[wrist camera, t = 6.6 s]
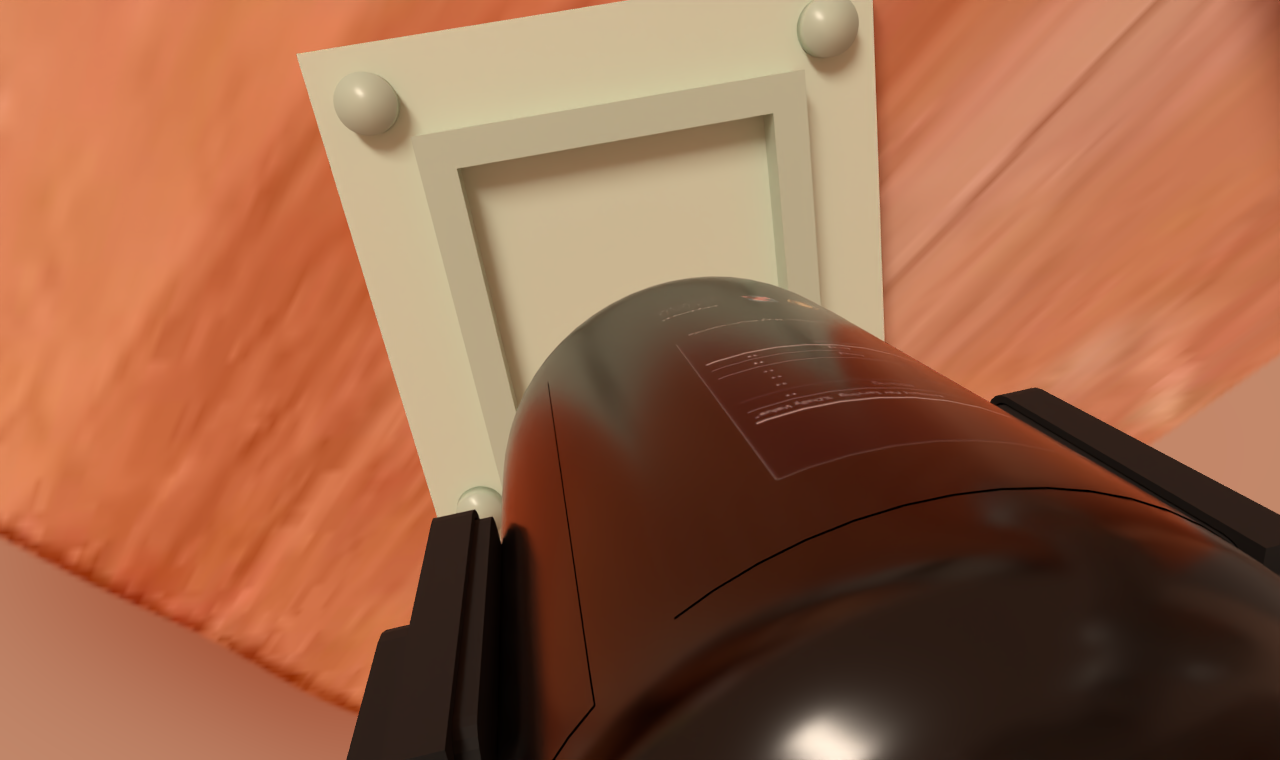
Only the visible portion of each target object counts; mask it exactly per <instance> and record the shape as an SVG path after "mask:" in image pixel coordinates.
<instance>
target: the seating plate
mask: <svg viewBox="0 0 1280 760" xmlns="http://www.w3.org/2000/svg"><path fill="white" fill-rule="evenodd" d="M296 55H297V58H298V61H299V65H300V68H301V71H302V75H303V78H304V81H305V84H306V88H307V91H308V94H309V98H310V101H311V104H312V107H313V111H314V114H315V117H316V120H317V124H318V127H319V130H320V134H321V137H322V140H323V143H324V147H325V150H326V153H327V157H328V160H329V163H330V166H331V170H332V173H333V176H334V180H335V183H336V186H337V189H338V193H339V196H340V199H341V202H342V206H343V209H344V212H345V216H346V219H347V222H348V225H349V229H350V232H351V235H352V239H353V242H354V245H355V248H356V252H357V255H358V258H359V262H360V265H361V268H362V271H363V275H364V278H365V281H366V284H367V288H368V291H369V294H370V298H371V301H372V304H373V307H374V311H375V314H376V317H377V321H378V324H379V327H380V330H381V334H382V337H383V340H384V344H385V347H386V350H387V353H388V357H389V360H390V363H391V366H392V370H393V373H394V376H395V380H396V383H397V386H398V389H399V393H400V396H401V399H402V403H403V406H404V409H405V412H406V416H407V419H408V422H409V426H410V429H411V432H412V435H413V439H414V442H415V445H416V449H417V452H418V455H419V458H420V462H421V465H422V468H423V471H424V475H425V478H426V481H427V485H428V488H429V491H430V494H431V498H432V501H433V504H434V508H435V511H436V514H437V517H442V516H446V515H451V514H456V513H460V512H465V511H469V510H474V509H475V510H476V511H477V513H478V515H479V518H480V519H483V518H487V517H493V518H494V520H495V522H496V526H497V529H498V533H499V537H500V540H501V511H502V490H503V471H504V461H505V452H506V448H507V443H508V438H509V434H510V429H511V426H512V423H513V420H514V417H515V414H516V411H517V408H518V406H519V404H520V402H521V400H522V397H523V395H524V393H525V391H526V389H527V387H528V386H529V384H530V382H531V381H532V379H533V377H534V375H535V374H536V372H537V371H538V370H539V368H540V367H541V366H542V364H543V363H544V361H545V360H546V359H547V357H548V356H549V355H550V354H551V353H552V352H553V351H554V349H555V348H556V347H557V346H558V345H559V344H560V343H561V342H562V341H563V340H564V339H565V338H566V337H567V336H568V335H569V334H570V333H571V332H572V331H573V330H575V329H576V328H577V327H578V326H579V325H581V324H582V323H583V322H585V321H586V320H587V319H589V318H590V317H591V316H593V315H594V314H596V313H597V312H599V311H600V310H602V309H604V308H605V307H607V306H608V305H610V304H612V303H614V302H616V301H618V300H620V299H622V298H624V297H626V296H628V295H630V294H633V293H635V292H638V291H641V290H643V289H646V288H648V287H652V286H655V285H659V284H662V283H666V282H670V281H675V280H681V279H687V278H696V277H709V276H716V277H736V278H743V279H751V280H755V281H759V282H764V283H768V284H771V285H774V286H777V287H780V288H783V289H786V290H789V291H791V292H794V293H796V294H798V295H800V296H802V297H804V298H807V299H809V300H811V301H813V302H814V303H816V304H818V305H820V306H822V307H824V308H826V309H828V310H830V311H832V312H834V313H835V314H837V315H839V316H841V317H842V318H844V319H846V320H848V321H849V322H851V323H853V324H855V325H856V326H858V327H860V328H862V329H863V330H865V331H867V332H869V333H870V334H872V335H874V336H875V337H877V338H879V339H881V340H882V341H884V312H883V283H882V254H881V226H880V197H879V168H878V140H877V111H876V82H875V54H874V25H873V0H627V1H621V2H615V3H609V4H603V5H596V6H590V7H584V8H578V9H572V10H565V11H559V12H553V13H547V14H541V15H534V16H528V17H522V18H516V19H510V20H503V21H497V22H491V23H485V24H479V25H473V26H466V27H460V28H454V29H448V30H442V31H435V32H429V33H423V34H417V35H411V36H404V37H398V38H392V39H386V40H380V41H373V42H367V43H361V44H355V45H349V46H342V47H336V48H330V49H324V50H318V51H312V52H305V53H299V54H296ZM884 342H885V341H884Z"/></svg>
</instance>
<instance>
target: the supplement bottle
mask: <svg viewBox="0 0 1280 760" xmlns="http://www.w3.org/2000/svg"><path fill="white" fill-rule="evenodd" d="M497 760H1280V575H1278V574H1277V573H1275V572H1274V571H1272V570H1271V569H1269V568H1268V567H1266V566H1265V565H1263V564H1262V563H1260V562H1259V561H1257V560H1256V559H1254V558H1252V557H1251V556H1249V555H1248V554H1246V553H1245V552H1243V551H1241V550H1240V549H1238V548H1237V547H1235V546H1233V545H1232V544H1230V543H1229V542H1228V541H1226V540H1225V539H1223V538H1221V537H1220V536H1218V535H1217V534H1215V533H1214V532H1212V531H1210V530H1209V529H1207V528H1206V527H1204V526H1203V525H1201V524H1199V523H1198V522H1196V521H1194V520H1193V519H1191V518H1189V517H1188V516H1186V515H1184V514H1182V513H1181V512H1179V511H1177V510H1176V509H1174V508H1172V507H1170V506H1169V505H1167V504H1165V503H1164V502H1162V501H1160V500H1158V499H1157V498H1155V497H1153V496H1151V495H1150V494H1148V493H1146V492H1145V491H1143V490H1141V489H1139V488H1138V487H1136V486H1134V485H1132V484H1131V483H1129V482H1127V481H1125V480H1124V479H1122V478H1120V477H1119V476H1117V475H1115V474H1113V473H1112V472H1110V471H1108V470H1106V469H1105V468H1103V467H1101V466H1099V465H1098V464H1096V463H1094V462H1093V461H1091V460H1089V459H1087V458H1086V457H1084V456H1082V455H1080V454H1079V453H1077V452H1075V451H1073V450H1072V449H1070V448H1068V447H1066V446H1065V445H1063V444H1061V443H1060V442H1058V441H1056V440H1054V439H1053V438H1051V437H1049V436H1047V435H1046V434H1044V433H1042V432H1040V431H1039V430H1037V429H1035V428H1033V427H1032V426H1030V425H1028V424H1027V423H1025V422H1023V421H1021V420H1020V419H1018V418H1016V417H1014V416H1013V415H1011V414H1009V413H1007V412H1006V411H1004V410H1002V409H1000V408H999V407H997V406H995V405H994V404H992V403H990V402H988V401H987V400H985V399H983V398H981V397H980V396H978V395H976V394H974V393H973V392H971V391H969V390H968V389H966V388H964V387H962V386H961V385H959V384H957V383H955V382H954V381H952V380H950V379H948V378H947V377H945V376H943V375H941V374H940V373H938V372H936V371H935V370H933V369H931V368H929V367H928V366H926V365H924V364H922V363H921V362H919V361H917V360H915V359H914V358H912V357H910V356H908V355H907V354H905V353H903V352H902V351H900V350H898V349H896V348H895V347H893V346H891V345H889V344H888V343H886V342H884V341H882V340H881V339H879V338H877V337H875V336H874V335H872V334H870V333H869V332H867V331H865V330H863V329H862V328H860V327H858V326H856V325H855V324H853V323H851V322H849V321H848V320H846V319H844V318H842V317H841V316H839V315H837V314H835V313H834V312H832V311H830V310H828V309H826V308H824V307H822V306H820V305H818V304H816V303H814V302H813V301H811V300H809V299H807V298H804V297H802V296H800V295H798V294H796V293H794V292H791V291H789V290H786V289H783V288H780V287H777V286H774V285H771V284H768V283H764V282H759V281H755V280H751V279H743V278H736V277H716V276H709V277H696V278H687V279H681V280H675V281H670V282H666V283H662V284H659V285H655V286H652V287H648V288H646V289H643V290H641V291H638V292H635V293H633V294H630V295H628V296H626V297H624V298H622V299H620V300H618V301H616V302H614V303H612V304H610V305H608V306H607V307H605V308H604V309H602V310H600V311H599V312H597V313H596V314H594V315H593V316H591V317H590V318H589V319H587V320H586V321H585V322H583V323H582V324H581V325H579V326H578V327H577V328H576V329H575V330H573V331H572V332H571V333H570V334H569V335H568V336H567V337H566V338H565V339H564V340H563V341H562V342H561V343H560V344H559V345H558V346H557V347H556V348H555V349H554V351H553V352H552V353H551V354H550V355H549V356H548V357H547V359H546V360H545V361H544V363H543V364H542V366H541V367H540V368H539V370H538V371H537V372H536V374H535V375H534V377H533V379H532V381H531V382H530V384H529V386H528V387H527V389H526V391H525V393H524V395H523V397H522V400H521V402H520V404H519V406H518V408H517V411H516V414H515V417H514V420H513V423H512V426H511V429H510V434H509V438H508V443H507V448H506V452H505V461H504V471H503V490H502V511H501V584H500V624H499V664H498V713H497Z"/></svg>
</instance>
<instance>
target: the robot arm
mask: <svg viewBox="0 0 1280 760" xmlns="http://www.w3.org/2000/svg"><path fill="white" fill-rule="evenodd" d="M990 403H992V404H994V405H995V406H997V407H999V408H1000V409H1002V410H1004V411H1006V412H1007V413H1009V414H1011V415H1013V416H1014V417H1016V418H1018V419H1020V420H1021V421H1023V422H1025V423H1027V424H1028V425H1030V426H1032V427H1033V428H1035V429H1037V430H1039V431H1040V432H1042V433H1044V434H1046V435H1047V436H1049V437H1051V438H1053V439H1054V440H1056V441H1058V442H1060V443H1061V444H1063V445H1065V446H1066V447H1068V448H1070V449H1072V450H1073V451H1075V452H1077V453H1079V454H1080V455H1082V456H1084V457H1086V458H1087V459H1089V460H1091V461H1093V462H1094V463H1096V464H1098V465H1099V466H1101V467H1103V468H1105V469H1106V470H1108V471H1110V472H1112V473H1113V474H1115V475H1117V476H1119V477H1120V478H1122V479H1124V480H1125V481H1127V482H1129V483H1131V484H1132V485H1134V486H1136V487H1138V488H1139V489H1141V490H1143V491H1145V492H1146V493H1148V494H1150V495H1151V496H1153V497H1155V498H1157V499H1158V500H1160V501H1162V502H1164V503H1165V504H1167V505H1169V506H1170V507H1172V508H1174V509H1176V510H1177V511H1179V512H1181V513H1182V514H1184V515H1186V516H1188V517H1189V518H1191V519H1193V520H1194V521H1196V522H1198V523H1199V524H1201V525H1203V526H1204V527H1206V528H1207V529H1209V530H1210V531H1212V532H1214V533H1215V534H1217V535H1218V536H1220V537H1221V538H1223V539H1225V540H1226V541H1228V542H1229V543H1230V544H1232V545H1233V546H1235V547H1237V548H1238V549H1240V550H1241V551H1243V552H1245V553H1246V554H1248V555H1249V556H1251V557H1252V558H1254V559H1256V560H1257V561H1259V562H1260V563H1262V564H1263V565H1265V566H1266V567H1268V568H1269V569H1271V570H1272V571H1274V572H1275V573H1277V574H1278V575H1280V515H1279V514H1277V513H1275V512H1273V511H1271V510H1269V509H1268V508H1266V507H1263V506H1262V505H1260V504H1258V503H1256V502H1254V501H1252V500H1250V499H1249V498H1247V497H1245V496H1243V495H1241V494H1239V493H1237V492H1235V491H1233V490H1232V489H1230V488H1228V487H1226V486H1224V485H1222V484H1220V483H1218V482H1216V481H1214V480H1213V479H1211V478H1209V477H1207V476H1205V475H1203V474H1201V473H1199V472H1197V471H1196V470H1193V469H1192V468H1190V467H1188V466H1186V465H1184V464H1182V463H1180V462H1178V461H1177V460H1175V459H1173V458H1171V457H1169V456H1167V455H1165V454H1163V453H1161V452H1159V451H1158V450H1156V449H1154V448H1152V447H1150V446H1148V445H1146V444H1144V443H1142V442H1141V441H1139V440H1137V439H1135V438H1133V437H1131V436H1129V435H1127V434H1125V433H1123V432H1122V431H1120V430H1118V429H1116V428H1114V427H1112V426H1110V425H1108V424H1106V423H1105V422H1103V421H1101V420H1099V419H1097V418H1095V417H1093V416H1091V415H1089V414H1087V413H1086V412H1084V411H1082V410H1080V409H1078V408H1076V407H1074V406H1072V405H1070V404H1068V403H1067V402H1065V401H1063V400H1061V399H1059V398H1057V397H1055V396H1053V395H1051V394H1050V393H1048V392H1046V391H1044V390H1042V389H1039V388H1030V389H1026V390H1021V391H1017V392H1012V393H1007V394H1003V395H998V396H995V397H994V398H993V399H992V400H991V402H990ZM500 584H501V540H500V537H499V533H498V529H497V526H496V522H495V520H494V518H493V517H487V518H483V519H480V518H479V515H478V513H477V511H476V510H475V509H474V510H469V511H465V512H460V513H456V514H451V515H446V516H442V517H437V518H434V519H433V520H432V523H431V528H430V532H429V537H428V542H427V546H426V551H425V555H424V560H423V565H422V569H421V574H420V579H419V583H418V588H417V593H416V597H415V602H414V607H413V611H412V616H411V621H410V625H406V626H402V627H397V628H393V629H389V630H386V631H384V632H383V633H382V634H381V636H380V639H379V641H378V644H377V648H376V652H375V655H374V659H373V663H372V666H371V670H370V674H369V678H368V681H367V685H366V689H365V693H364V696H363V700H362V704H361V707H360V711H359V715H358V719H357V722H356V726H355V730H354V734H353V737H352V741H351V745H350V749H349V752H348V756H347V760H497V713H498V664H499V624H500Z"/></svg>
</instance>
